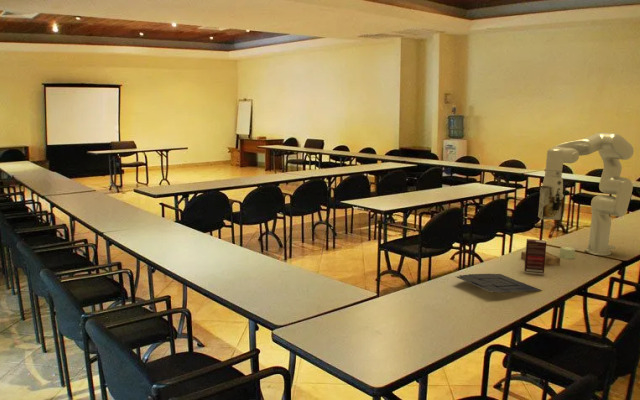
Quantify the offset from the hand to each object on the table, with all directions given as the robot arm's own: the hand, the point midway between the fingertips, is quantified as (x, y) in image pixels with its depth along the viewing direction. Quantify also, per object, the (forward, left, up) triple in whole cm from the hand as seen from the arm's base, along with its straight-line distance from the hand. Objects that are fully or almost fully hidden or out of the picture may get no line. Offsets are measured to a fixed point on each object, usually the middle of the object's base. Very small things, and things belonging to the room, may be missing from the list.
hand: (549, 208), depth 255 cm
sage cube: (-17, -5, -28) cm, 33 cm away
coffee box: (0, 0, -5) cm, 5 cm away
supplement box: (+16, +14, -28) cm, 35 cm away
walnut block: (+2, -1, -29) cm, 29 cm away
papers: (+44, +28, -28) cm, 60 cm away
